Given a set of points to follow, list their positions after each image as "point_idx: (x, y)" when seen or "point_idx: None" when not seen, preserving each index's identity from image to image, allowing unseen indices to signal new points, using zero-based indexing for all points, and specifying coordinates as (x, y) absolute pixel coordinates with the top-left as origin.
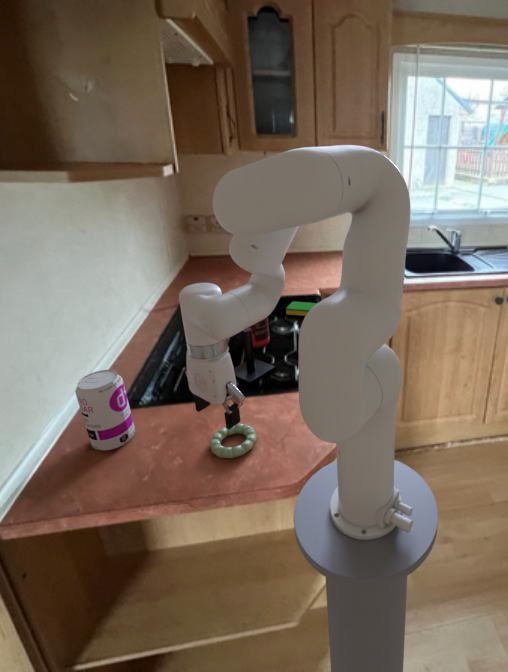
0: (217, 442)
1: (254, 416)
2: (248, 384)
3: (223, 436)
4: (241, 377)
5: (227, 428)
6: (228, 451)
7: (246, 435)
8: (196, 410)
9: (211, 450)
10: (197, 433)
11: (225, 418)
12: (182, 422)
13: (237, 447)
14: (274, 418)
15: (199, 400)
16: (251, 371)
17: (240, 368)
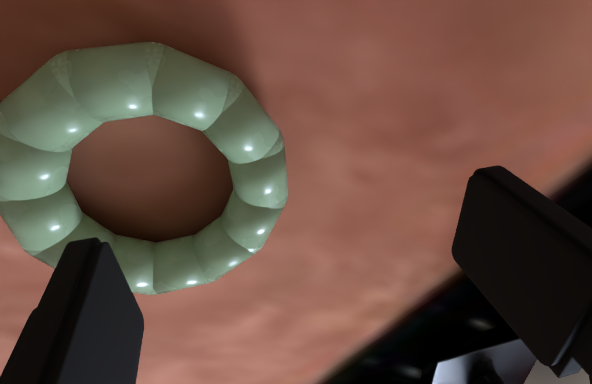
0: (173, 110)
1: (270, 305)
2: (439, 346)
3: (229, 163)
4: (484, 351)
5: (75, 243)
6: (15, 115)
7: (130, 250)
8: (498, 167)
9: (158, 44)
10: (400, 79)
11: (43, 340)
12: (535, 71)
13: (10, 177)
14: (191, 349)
15: (543, 257)
16: (473, 378)
17: (519, 361)
